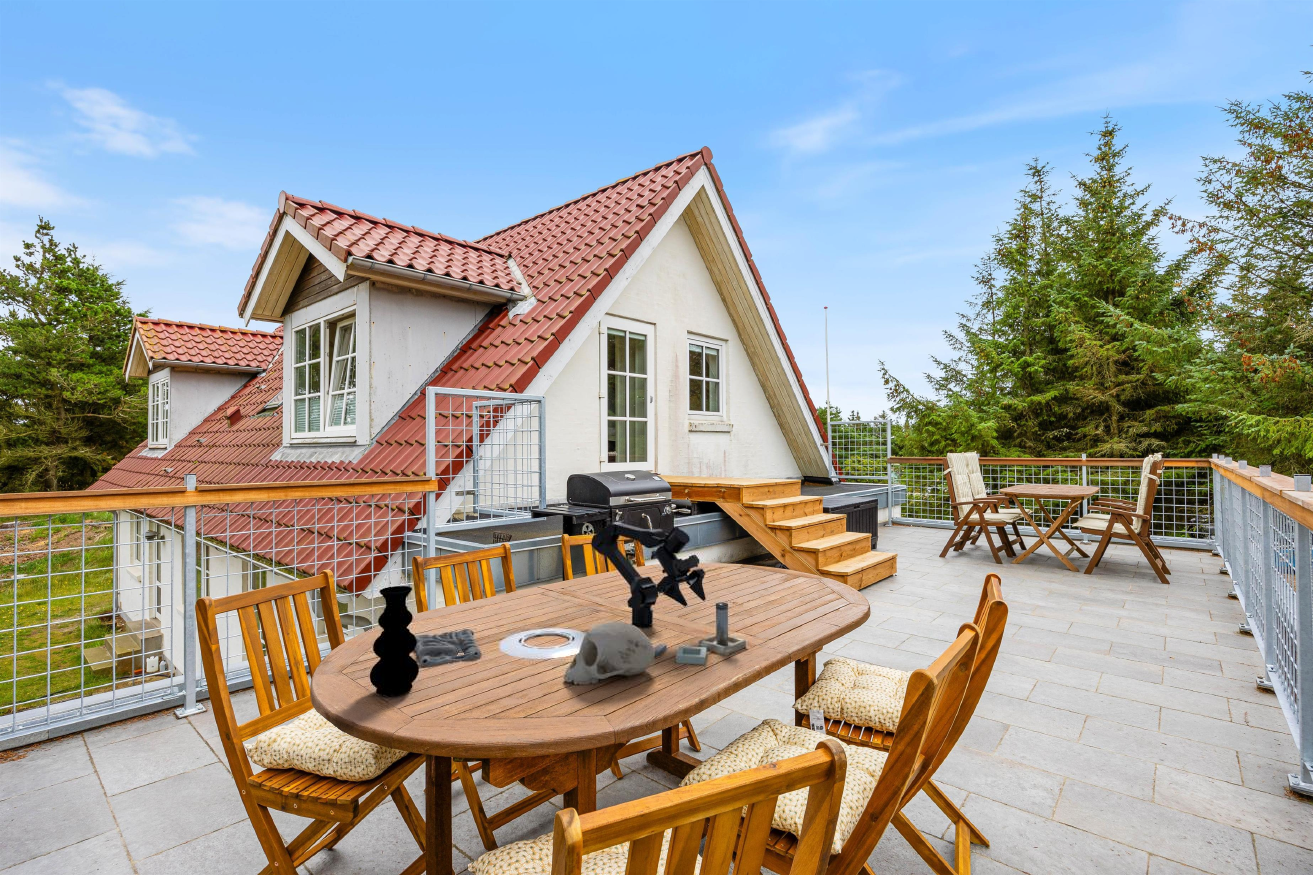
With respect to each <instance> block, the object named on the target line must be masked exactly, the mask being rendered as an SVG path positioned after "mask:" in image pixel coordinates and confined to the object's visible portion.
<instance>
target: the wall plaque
mask: <svg viewBox="0 0 1313 875" xmlns="http://www.w3.org/2000/svg"><path fill="white" fill-rule="evenodd" d="M413 635H414V636H415V637H416V640H417V645H416V647H415V649H414V650H413V651H415V652H416V654H417V657H418V659H419V663H418V666H419V668H430V667H433V668H434V667H438V666H444V664H445V665H449V664H454V662H455V663H460V661H462V662H469V661H468V660H471V661H476V660H475V659H478V660H480V659H482V654H483V652H482V650H480V648H479V646H478V644H477V642H476V641H475V639H474V635H475V633H474V631H473V630H472V629H470V628H463V629H460V630H459V631H455V630H452V631H450V632H448V631H447V632H443V633H440V634H438V633H434V634H433V635H431V634H419V635H415V634H413ZM458 653H464V655H463V654H459V655H458ZM457 655H458V656H457ZM424 661H425V662H424ZM448 663H449V664H448Z"/></svg>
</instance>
